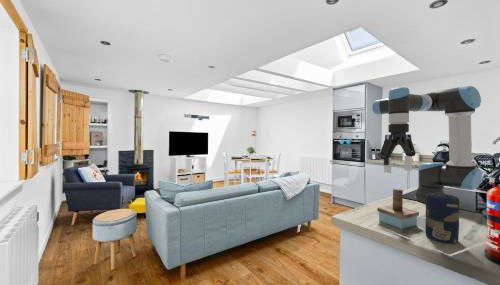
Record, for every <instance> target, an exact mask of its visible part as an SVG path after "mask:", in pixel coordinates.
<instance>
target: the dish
mask: <svg viewBox="0 0 500 285" xmlns="http://www.w3.org/2000/svg"><path fill="white" fill-rule="evenodd" d="M378 219H379V220H378V221H379V222H381V223H384V224H386V225H389V226H392V227H394V228H397V229H399V230H405V229H408V228H412V227H413V228H414V227H416V226H417V216H415V217H410V218H406V219H399V218H396V217H393V216H391V215H388V214H385V213H382V212H379V211H378Z"/></svg>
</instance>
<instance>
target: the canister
mask: <svg viewBox="0 0 500 285" xmlns="http://www.w3.org/2000/svg"><path fill="white" fill-rule="evenodd" d="M425 219H426V228H425V229H424V232H425V235H426V237H428V238H429V239H430V240H433V241H435V242H439V243H442V244H443V243H444V244H456V243H458V242H459V235H460V199H459V198H458V196H455V195H452V194H448V193H445V194H444V193H441V192H436V193H429V194H427V195H426V203H425Z"/></svg>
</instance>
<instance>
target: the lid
mask: <svg viewBox="0 0 500 285" xmlns="http://www.w3.org/2000/svg"><path fill="white" fill-rule="evenodd" d="M403 191H404V190H403V189H400V188H392V204H391V205H384V206H381V207H379V206H378V207H377V209H376V210H377V212H378V213H379V212H382V213H385V214H388V215H391V216H393V217H396V218H399V219H406V218H410V217H415V216H418V217H420V212H419V211H417V210H413V209H410V208H407V207H403V198H404V197H403V196H404V195H403Z"/></svg>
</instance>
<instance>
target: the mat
mask: <svg viewBox="0 0 500 285" xmlns="http://www.w3.org/2000/svg"><path fill="white" fill-rule="evenodd" d="M417 226H418V227H420V228H424V229H426V217H425V218H424V217H421V216H417Z"/></svg>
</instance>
